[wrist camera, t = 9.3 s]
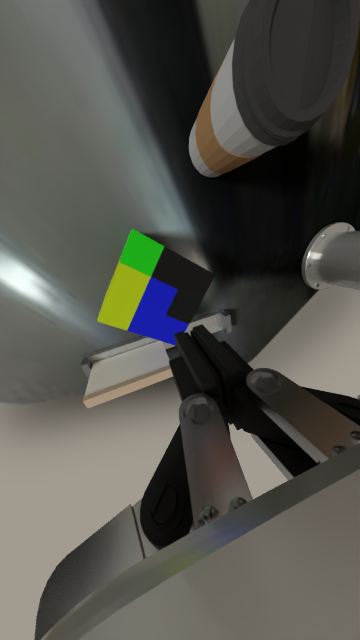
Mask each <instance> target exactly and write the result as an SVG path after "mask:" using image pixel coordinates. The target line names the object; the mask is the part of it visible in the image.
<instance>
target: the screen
mask: <svg viewBox="0 0 360 640" xmlns="http://www.w3.org/2000/svg"><path fill="white" fill-rule="evenodd" d="M169 361H170V360H169V358H168V355H167V353H166V350H165V347H164V345H163V342H162V341H157V342H154V343H151V344H148V345H145V346H142V347H139V348H136V349H133V350H130V351H128V352H125V353H122V354H119V355H116V356H113V357H110V358H107V359H104V360H101V361H98V362H95V363H93V365H92V369H91V373H90V377H89V381H88V385H87V389H86V393H85V396H84V399H83V402H84V404H85V405H86V407H87V408H91V407H93V406H96V405H98V404H101V403H104V402H106V401H109V400H111V399H114V398H117V397H119V396H122V395H125V394H127V393H130V392H133V391H135V390H138V389H140V388H143V387H146V386H149V385H151V384H154V383H157V382H159V381H162V380H165V379H167V378H170V377H172V376H173V374H172V371H171V368H170V365H169Z"/></svg>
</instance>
